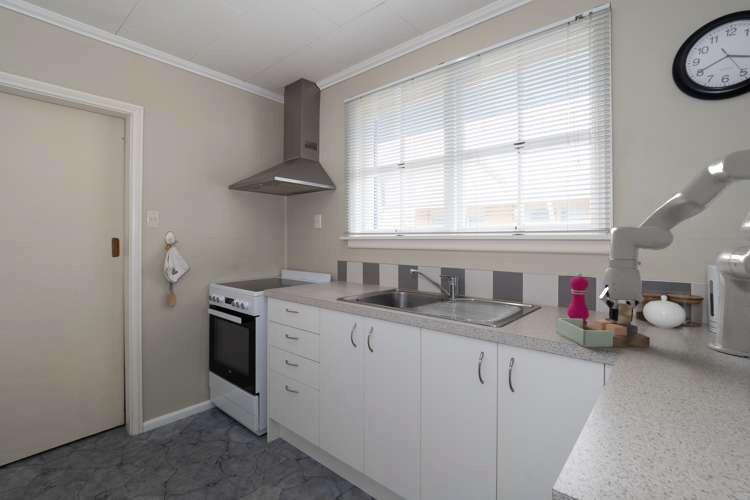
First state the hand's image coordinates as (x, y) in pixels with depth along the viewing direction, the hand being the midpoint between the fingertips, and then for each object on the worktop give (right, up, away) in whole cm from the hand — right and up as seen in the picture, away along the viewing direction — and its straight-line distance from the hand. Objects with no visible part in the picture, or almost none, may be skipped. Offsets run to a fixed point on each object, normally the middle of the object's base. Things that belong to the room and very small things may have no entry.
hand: (620, 319), depth 114 cm
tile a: (-4, -4, -3) cm, 6 cm away
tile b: (-4, -3, +3) cm, 6 cm away
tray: (-12, -6, 0) cm, 14 cm away
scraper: (0, -3, 0) cm, 3 cm away
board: (-2, -7, 0) cm, 7 cm away
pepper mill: (-3, -6, +19) cm, 20 cm away
